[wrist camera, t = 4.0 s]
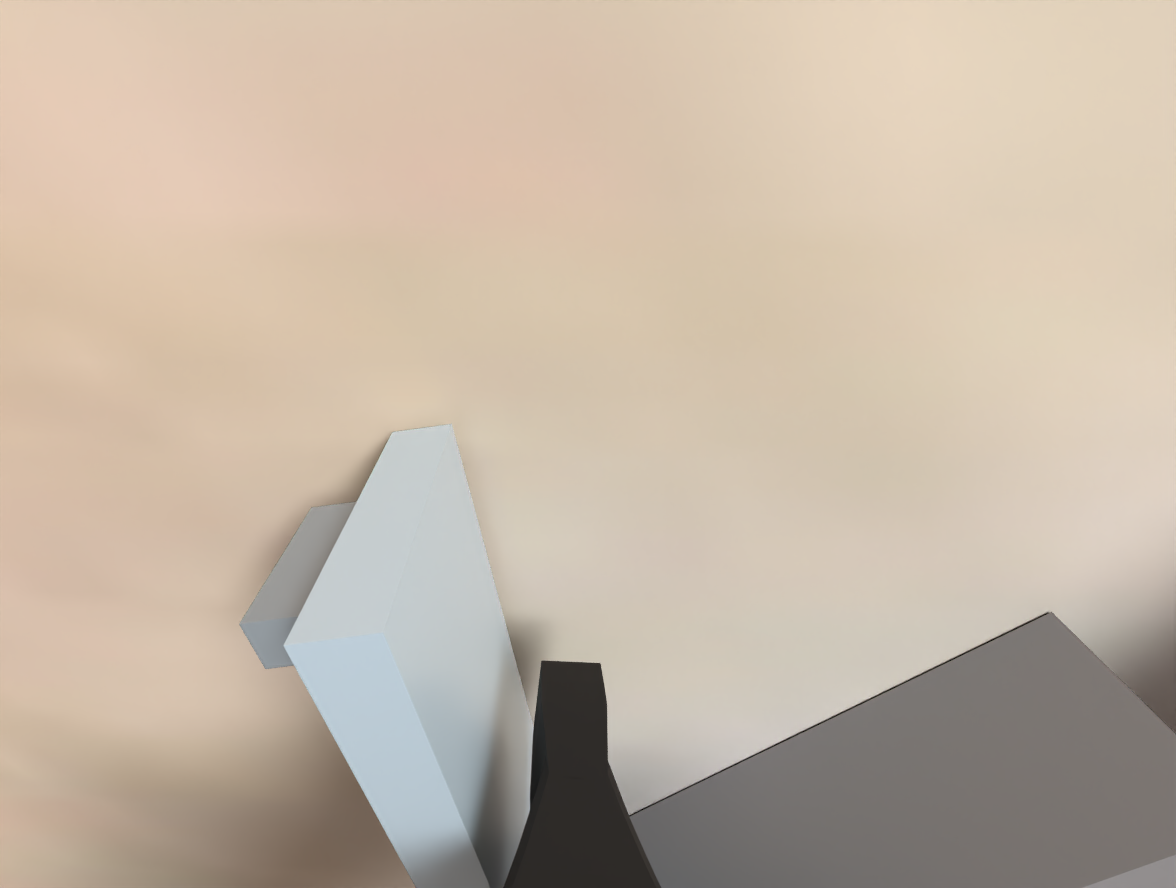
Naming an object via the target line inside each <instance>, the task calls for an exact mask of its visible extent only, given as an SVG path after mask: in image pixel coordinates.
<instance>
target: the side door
mask: <svg viewBox="0 0 1176 888" xmlns="http://www.w3.org/2000/svg"><path fill="white" fill-rule="evenodd" d="M239 625H240V626H241V628H242V630H243V632H244V633H245V635H246V637H247V638H248V640H249V642H250V644H251V645H252V647H253V649H254V650H255V652H256V654H257V655H258V657H259V659H260V661H261V662H262V664H263V666H264V667H265V669H270V668H278V667H285V666H293V665H294V666H295V668H296V670H297V672H298V673H299V675H300V677H301V679H302V681H303V682H304V684H305V686H306V688H307V690H308V692H309V693H310V695H311V697H312V699H313V701H314V703H315V704H316V706H317V708H318V710H319V712H320V714H321V715H322V717H323V719H324V721H325V723H326V724H327V726H328V728H329V730H330V732H331V734H332V735H333V737H334V739H335V741H336V743H337V745H338V746H339V748H340V750H341V752H342V754H343V755H344V757H345V759H346V761H347V763H348V765H349V766H350V768H351V770H352V772H353V774H354V776H355V777H356V779H357V781H358V783H359V785H360V787H361V788H362V790H363V792H364V794H365V796H366V797H367V799H368V801H369V803H370V805H371V807H372V808H373V810H374V812H375V814H376V816H377V818H378V819H379V821H380V823H381V825H382V827H383V828H384V830H385V832H386V834H387V836H388V838H389V839H390V841H391V843H392V845H393V847H394V849H395V850H396V852H397V854H398V856H399V858H400V860H401V861H402V863H403V865H404V867H405V869H406V870H407V872H408V874H409V876H410V878H411V880H412V881H413V883H414V885H415V887H416V888H503V887H504V884H505V881H506V879H507V876H508V873H509V871H510V868H511V865H512V862H513V860H514V857H515V854H516V851H517V848H518V845H519V842H520V839H521V836H522V833H523V830H524V827H525V824H526V821H527V818H528V815H529V812H530V783H531V762H532V743H533V730H534V727H533V723H532V719H531V716H530V712H529V708H528V704H527V701H526V697H525V693H524V690H523V686H522V682H521V679H520V675H519V671H518V667H517V664H516V660H515V656H514V653H513V649H512V645H511V642H510V638H509V634H508V630H507V627H506V623H505V619H504V616H503V612H502V608H501V605H500V601H499V597H498V593H497V590H496V586H495V582H494V579H493V575H492V571H491V567H490V564H489V560H488V556H487V553H486V549H485V545H484V542H483V538H482V534H481V530H480V527H479V523H478V519H477V516H476V512H475V508H474V505H473V501H472V497H471V493H470V490H469V486H468V482H467V479H466V475H465V471H464V468H463V464H462V460H461V456H460V453H459V449H458V445H457V442H456V438H455V434H454V431H453V427H452V424H449V425H441V426H434V427H426V428H419V429H412V430H404V431H397V432H392V434H391V436H390V438H389V440H388V442H387V444H386V446H385V448H384V450H383V451H382V453H381V455H380V457H379V459H378V461H377V463H376V465H375V467H374V469H373V471H372V473H371V475H370V477H369V479H368V481H367V483H366V485H365V487H364V489H363V491H362V493H361V495H360V497H359V498H358V500H357V502H349V503H342V504H335V505H327V506H320V507H312V508H311V509H310V511H309V512H308V514H307V516H306V517H305V519H304V520H303V522H302V524H301V525H300V527H299V528H298V530H297V532H296V533H295V535H294V537H293V538H292V540H291V541H290V543H289V545H288V546H287V548H286V549H285V551H284V553H283V554H282V556H281V557H280V559H279V561H278V562H277V564H276V566H275V567H274V569H273V570H272V572H271V574H270V575H269V577H268V578H267V580H266V582H265V583H264V585H263V586H262V588H261V590H260V591H259V593H258V595H257V596H256V598H255V599H254V601H253V603H252V604H251V606H250V607H249V609H248V611H247V612H246V614H245V616H244V617H243V619H242V620H241V622H240V624H239Z"/></svg>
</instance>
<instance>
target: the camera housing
mask: <svg viewBox="0 0 1176 888" xmlns="http://www.w3.org/2000/svg"><path fill="white" fill-rule="evenodd" d="M629 817H630V819H631V822H632V824H633V826H634V829H635V831H636V833H637V835H638V838H639V840H640V842H641V845H642V847H643V849H644V852H645V854H646V856H647V858H648V860H649V863H650V865H651V867H652V869H653V871H654V873H655V876H656V878H657V880H658V882H659V884H660V886H661V888H1176V734H1175V733H1174V732H1173V731H1172V730H1171V729H1170V728H1169V727H1168V726H1167V725H1166V724H1165V723H1164V722H1163V721H1162V720H1161V719H1160V718H1159V717H1158V716H1157V715H1156V714H1155V713H1154V712H1153V711H1152V710H1151V709H1150V708H1149V707H1148V706H1147V705H1146V704H1145V703H1144V702H1143V701H1142V700H1141V699H1140V698H1139V697H1138V696H1137V695H1136V694H1135V693H1134V692H1133V691H1131V690H1130V689H1129V688H1128V687H1127V686H1126V685H1125V684H1124V683H1123V682H1122V681H1121V680H1120V679H1119V678H1118V677H1117V676H1116V675H1115V674H1114V673H1113V672H1112V671H1111V670H1110V669H1109V668H1108V667H1107V666H1106V665H1105V664H1104V663H1103V662H1102V661H1101V660H1100V659H1099V658H1098V657H1097V656H1096V655H1095V654H1094V653H1093V652H1092V651H1091V650H1090V649H1089V648H1088V647H1087V646H1086V645H1085V644H1084V643H1083V642H1082V641H1081V640H1080V639H1079V638H1078V637H1077V636H1076V635H1075V634H1074V633H1073V632H1072V631H1070V630H1069V629H1068V628H1067V627H1066V626H1065V625H1064V624H1063V623H1062V622H1061V621H1060V620H1059V619H1058V618H1057V617H1056V616H1055V615H1054V614H1053V613H1052V612H1051V613H1049V614H1046V615H1044V616H1042V617H1040V618H1038V619H1036V620H1034V621H1032V622H1030V623H1028V624H1026V625H1024V626H1022V627H1020V628H1018V629H1016V630H1013V631H1011V632H1009V633H1007V634H1005V635H1003V636H1001V637H999V638H997V639H995V640H993V641H991V642H989V643H987V644H985V645H982V646H980V647H978V648H976V649H974V650H972V651H970V652H968V653H966V654H964V655H962V656H960V657H958V658H956V659H954V660H952V661H949V662H947V663H945V664H943V665H941V666H939V667H937V668H935V669H933V670H931V671H929V672H927V673H925V674H923V675H921V676H918V677H916V678H914V679H912V680H910V681H908V682H906V683H904V684H902V685H900V686H898V687H896V688H894V689H892V690H890V691H888V692H885V693H883V694H881V695H879V696H877V697H875V698H873V699H871V700H869V701H867V702H865V703H863V704H861V705H859V706H857V707H854V708H852V709H850V710H848V711H846V712H844V713H842V714H840V715H838V716H836V717H834V718H832V719H830V720H828V721H826V722H824V723H821V724H819V725H817V726H815V727H813V728H811V729H809V730H807V731H805V732H803V733H801V734H799V735H797V736H795V737H793V738H790V739H788V740H786V741H784V742H782V743H780V744H778V745H776V746H774V747H772V748H770V749H768V750H766V751H764V752H762V753H760V754H757V755H755V756H753V757H751V758H749V759H747V760H745V761H743V762H741V763H739V764H737V765H735V766H733V767H731V768H729V769H726V770H724V771H722V772H720V773H718V774H716V775H714V776H712V777H710V778H708V779H706V780H704V781H702V782H700V783H698V784H696V785H693V786H691V787H689V788H687V789H685V790H683V791H681V792H679V793H677V794H675V795H673V796H671V797H669V798H667V799H665V800H662V801H660V802H658V803H656V804H654V805H652V806H650V807H648V808H646V809H644V810H642V811H640V812H638V813H636V814H634V815H632V816H629Z"/></svg>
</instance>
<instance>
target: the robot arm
mask: <svg viewBox="0 0 1176 888" xmlns="http://www.w3.org/2000/svg"><path fill="white" fill-rule="evenodd" d="M503 888H661V886H660V884H659V882H658V880H657V878H656V876H655V873H654V871H653V869H652V867H651V865H650V863H649V860H648V858H647V856H646V854H645V852H644V849H643V847H642V845H641V842H640V840H639V838H638V835H637V833H636V831H635V829H634V826H633V824H632V822H631V819H630V817H629V814H628V812H627V810H626V807H625V805H624V802H623V800H622V797H621V795H620V792H619V789H618V787H617V784H616V781H615V779H614V776H613V773H612V771H611V768H610V765H609V763H608V746H607V701H606V695H605V688H604V681H603V676H602V670H601V664H600V663H583V662H561V661H541V670H540V678H539V687H538V696H537V704H536V713H535V721H534V730H533V743H532V762H531V783H530V812H529V815H528V818H527V821H526V824H525V827H524V830H523V833H522V836H521V839H520V842H519V845H518V848H517V851H516V854H515V857H514V860H513V862H512V865H511V868H510V871H509V873H508V876H507V879H506V881H505V884H504V887H503Z"/></svg>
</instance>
